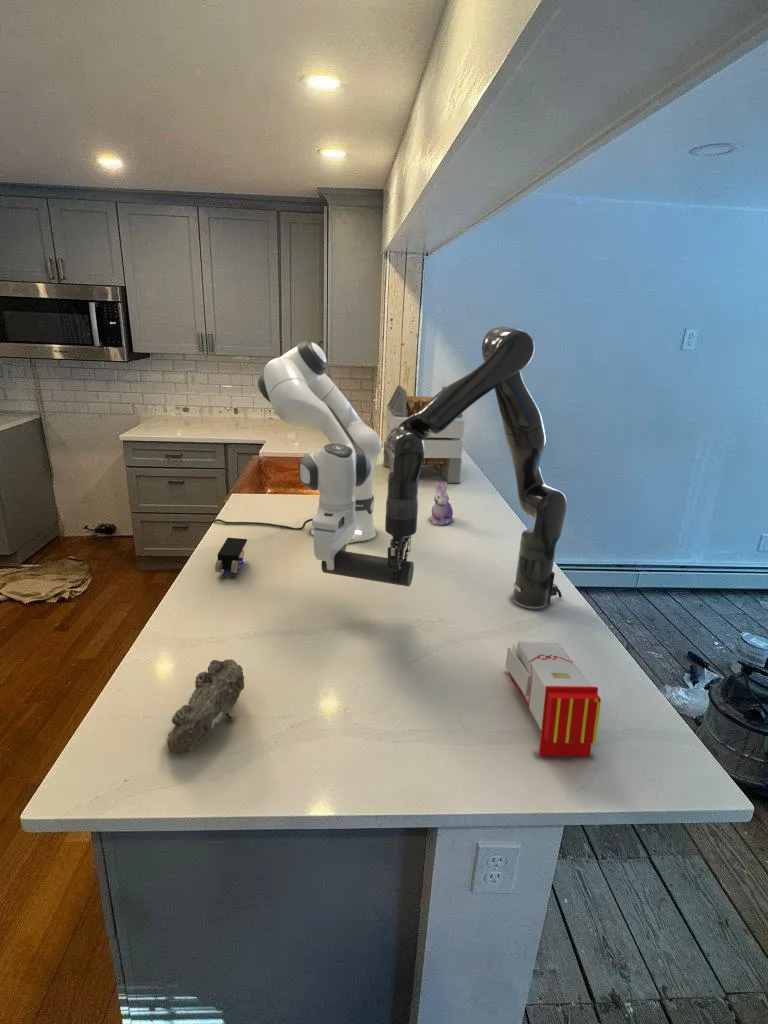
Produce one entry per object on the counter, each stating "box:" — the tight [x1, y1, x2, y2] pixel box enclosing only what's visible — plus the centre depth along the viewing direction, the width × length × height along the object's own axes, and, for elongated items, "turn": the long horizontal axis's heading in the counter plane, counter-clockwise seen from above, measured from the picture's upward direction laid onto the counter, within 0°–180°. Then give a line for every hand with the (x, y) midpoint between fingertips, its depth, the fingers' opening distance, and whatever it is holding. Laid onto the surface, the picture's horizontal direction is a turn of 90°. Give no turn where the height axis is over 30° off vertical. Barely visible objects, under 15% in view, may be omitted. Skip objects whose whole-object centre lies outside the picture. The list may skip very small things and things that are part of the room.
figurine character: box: [214, 537, 248, 578], centre depth 166 cm, size 7×8×15 cm
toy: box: [505, 641, 602, 757], centre depth 113 cm, size 12×13×30 cm
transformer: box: [383, 384, 465, 484], centre depth 268 cm, size 34×33×41 cm
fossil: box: [166, 658, 245, 754], centre depth 106 cm, size 22×10×15 cm
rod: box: [320, 550, 415, 587], centre depth 141 cm, size 22×6×6 cm, turn 74°
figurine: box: [430, 481, 454, 526], centre depth 211 cm, size 9×10×15 cm
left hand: (336, 562), depth 143 cm, fingers closed on rod, 6 cm apart
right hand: (398, 576), depth 139 cm, fingers closed on rod, 6 cm apart
